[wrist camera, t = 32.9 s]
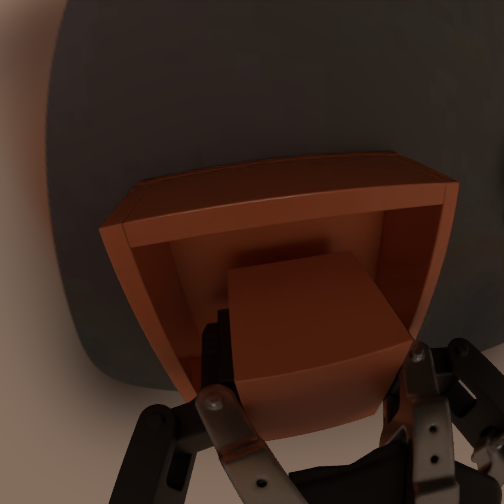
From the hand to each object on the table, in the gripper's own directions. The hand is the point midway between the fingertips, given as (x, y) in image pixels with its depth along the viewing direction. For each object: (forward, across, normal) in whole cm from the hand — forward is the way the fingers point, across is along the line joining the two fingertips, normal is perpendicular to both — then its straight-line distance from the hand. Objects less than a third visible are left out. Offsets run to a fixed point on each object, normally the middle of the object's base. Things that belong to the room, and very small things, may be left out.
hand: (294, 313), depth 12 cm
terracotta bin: (+3, 0, 0) cm, 3 cm away
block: (0, 0, 0) cm, 0 cm away
